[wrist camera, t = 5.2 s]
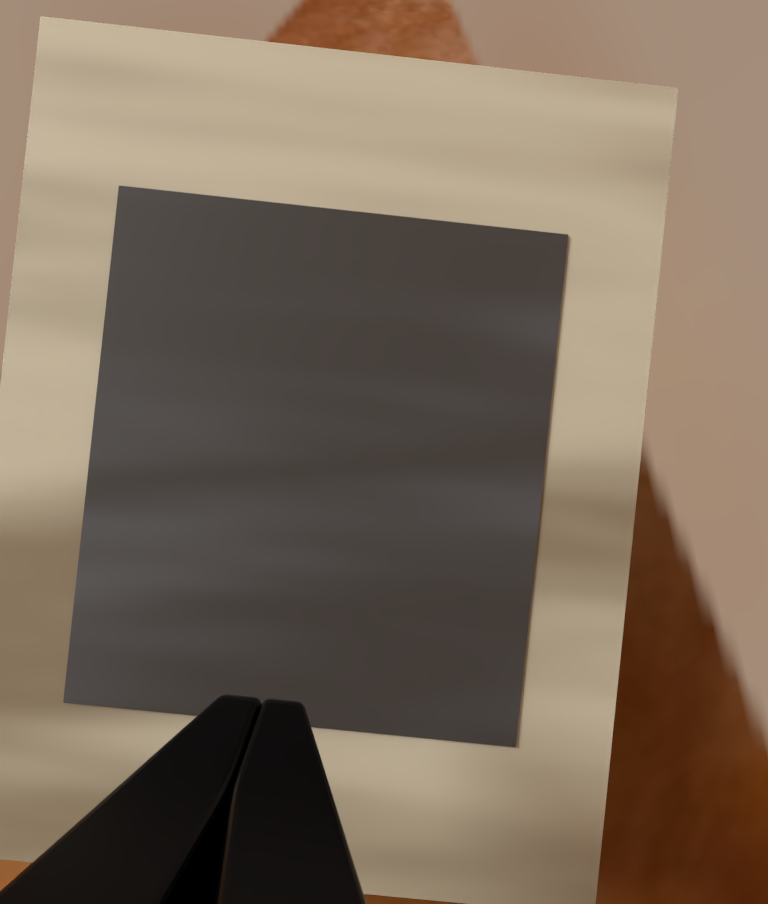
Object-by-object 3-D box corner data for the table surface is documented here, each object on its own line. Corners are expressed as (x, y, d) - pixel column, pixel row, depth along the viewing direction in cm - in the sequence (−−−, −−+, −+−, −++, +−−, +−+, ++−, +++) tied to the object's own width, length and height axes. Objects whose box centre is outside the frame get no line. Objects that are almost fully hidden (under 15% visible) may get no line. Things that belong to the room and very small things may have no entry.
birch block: (596, 918, 10) (679, 86, 11) (-53, 856, 10) (39, 13, 10) (523, 767, 15) (580, 206, 16) (87, 724, 15) (148, 158, 15)
